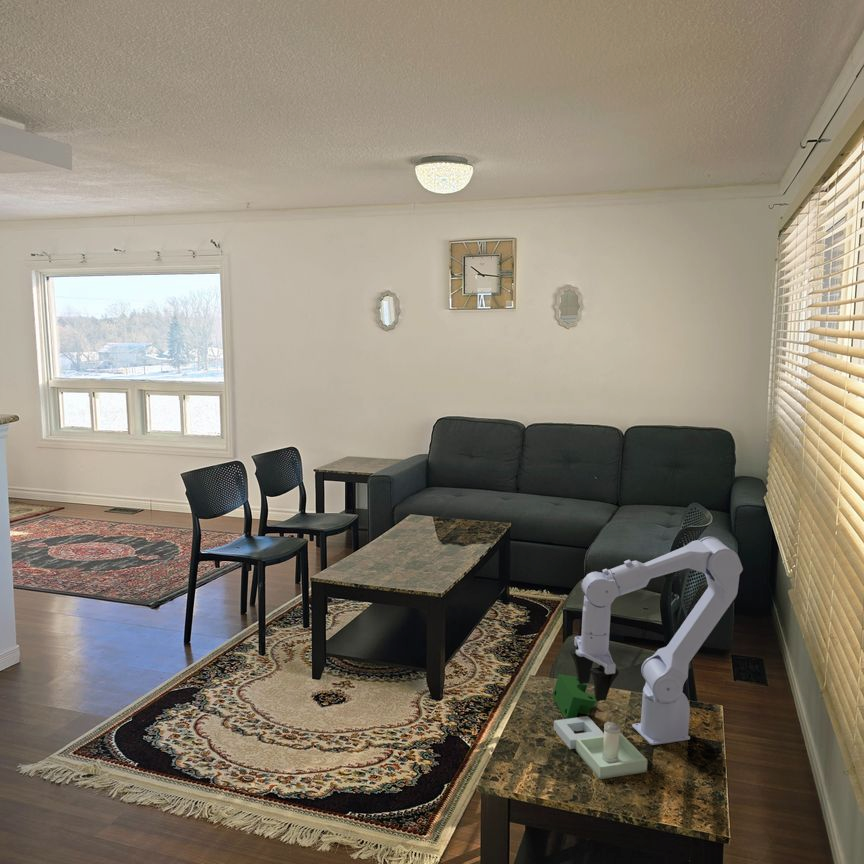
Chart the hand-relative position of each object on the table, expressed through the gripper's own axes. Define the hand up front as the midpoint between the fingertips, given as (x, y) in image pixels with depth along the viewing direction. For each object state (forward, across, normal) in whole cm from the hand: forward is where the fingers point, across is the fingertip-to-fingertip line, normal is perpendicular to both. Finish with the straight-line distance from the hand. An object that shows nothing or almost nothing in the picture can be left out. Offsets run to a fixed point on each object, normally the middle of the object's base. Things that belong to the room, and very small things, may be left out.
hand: (592, 691), depth 164 cm
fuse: (+9, +11, -1) cm, 14 cm away
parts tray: (+9, +11, -1) cm, 14 cm away
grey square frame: (+9, +1, -3) cm, 10 cm away
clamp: (+10, -10, +1) cm, 14 cm away
